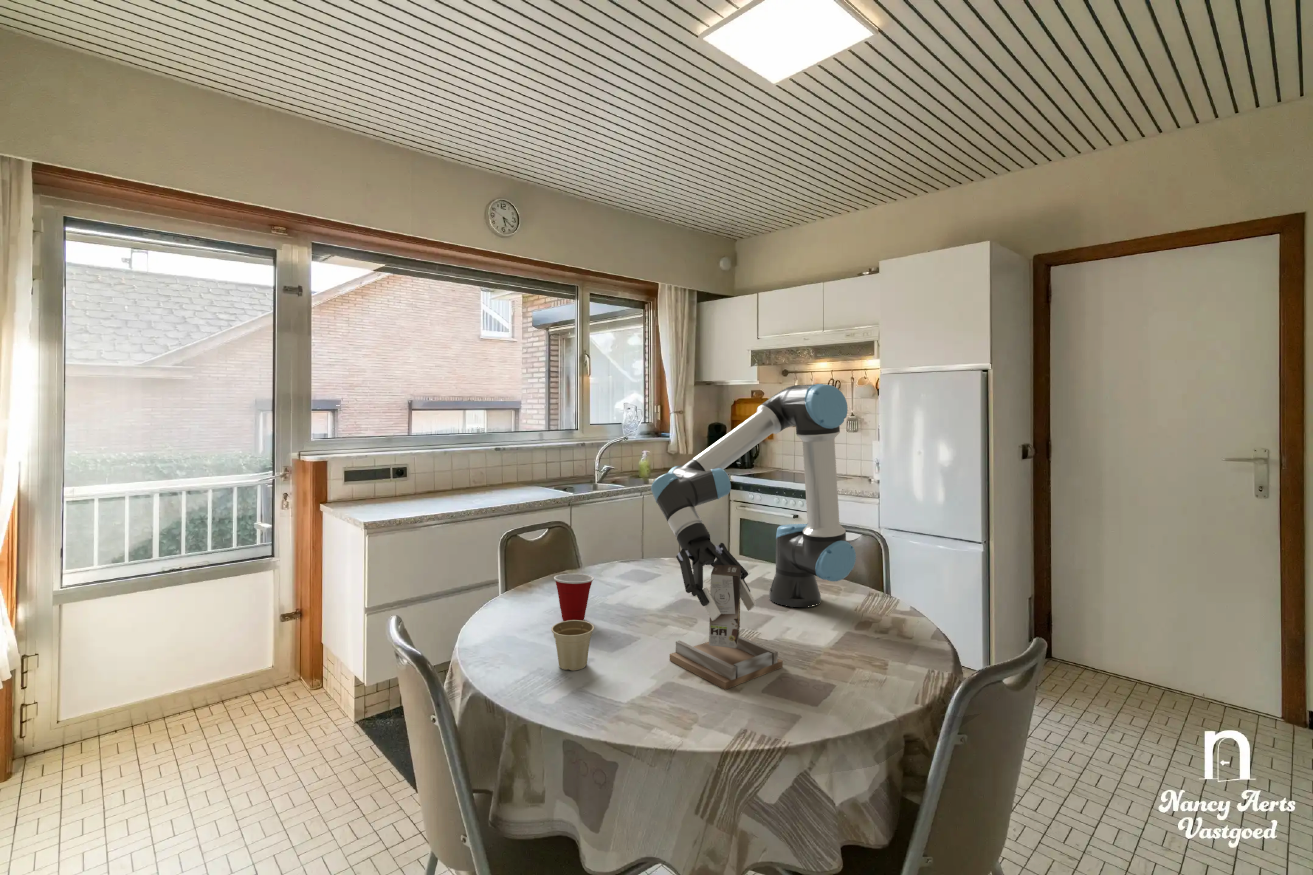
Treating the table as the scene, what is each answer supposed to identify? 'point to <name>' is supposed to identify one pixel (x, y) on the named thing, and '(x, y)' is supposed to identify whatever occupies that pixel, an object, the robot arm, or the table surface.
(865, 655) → the table surface
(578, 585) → the plastic cup
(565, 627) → the flower pot
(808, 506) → the robot arm
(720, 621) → the coffee box
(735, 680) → the rail holder
